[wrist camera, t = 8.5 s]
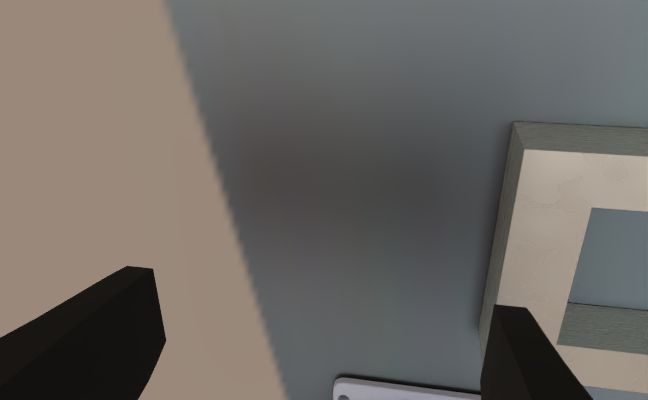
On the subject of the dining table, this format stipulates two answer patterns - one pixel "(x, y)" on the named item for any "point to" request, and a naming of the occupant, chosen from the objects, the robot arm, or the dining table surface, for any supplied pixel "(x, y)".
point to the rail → (568, 243)
